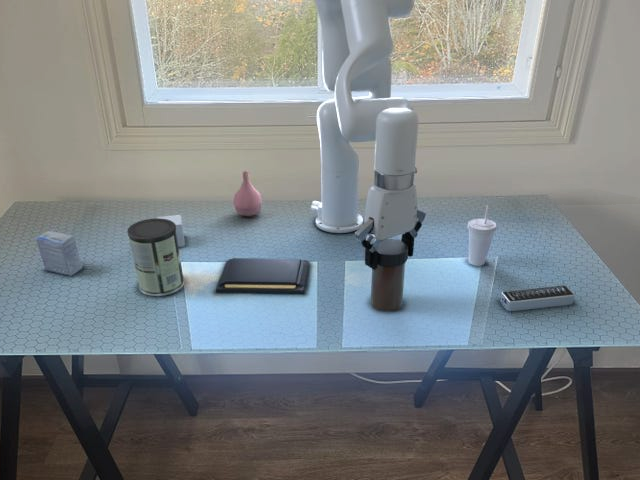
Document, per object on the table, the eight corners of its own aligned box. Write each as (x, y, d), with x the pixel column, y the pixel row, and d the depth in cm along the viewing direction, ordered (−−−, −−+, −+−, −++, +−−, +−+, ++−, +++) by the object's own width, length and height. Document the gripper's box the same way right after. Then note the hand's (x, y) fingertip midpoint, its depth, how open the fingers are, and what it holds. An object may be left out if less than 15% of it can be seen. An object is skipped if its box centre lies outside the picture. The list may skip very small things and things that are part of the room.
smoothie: (491, 269, 149) (500, 212, 141) (462, 267, 150) (470, 210, 142) (490, 256, 154) (499, 201, 146) (462, 255, 155) (470, 199, 147)
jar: (364, 305, 138) (366, 251, 130) (380, 292, 142) (383, 239, 134) (392, 315, 134) (395, 260, 127) (408, 301, 139) (412, 247, 131)
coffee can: (153, 271, 152) (142, 215, 144) (192, 277, 149) (184, 221, 141) (129, 293, 144) (117, 234, 136) (170, 299, 141) (160, 240, 133)
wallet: (310, 255, 152) (303, 288, 140) (310, 263, 154) (303, 295, 141) (227, 253, 154) (213, 285, 142) (227, 260, 156) (214, 292, 143)
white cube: (161, 249, 162) (157, 226, 158) (160, 239, 166) (156, 217, 163) (185, 246, 162) (181, 224, 159) (183, 236, 167) (180, 214, 164)
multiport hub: (573, 304, 136) (575, 294, 134) (507, 311, 134) (509, 302, 133) (563, 294, 139) (565, 284, 138) (499, 300, 138) (501, 291, 136)
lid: (363, 260, 131) (364, 249, 130) (382, 246, 136) (383, 235, 134) (395, 270, 127) (396, 258, 126) (414, 256, 132) (415, 244, 131)
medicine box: (83, 268, 154) (74, 235, 149) (70, 277, 151) (61, 243, 146) (57, 262, 157) (48, 229, 152) (44, 271, 154) (34, 237, 148)
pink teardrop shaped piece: (238, 208, 181) (234, 166, 174) (264, 209, 180) (262, 167, 173) (232, 220, 175) (227, 177, 168) (259, 221, 174) (256, 177, 167)
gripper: (415, 163, 128) (409, 242, 138) (345, 182, 121) (344, 265, 131) (441, 174, 123) (433, 255, 133) (370, 195, 115) (366, 279, 126)
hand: (389, 260), depth 132 cm, fingers open, 9 cm apart
